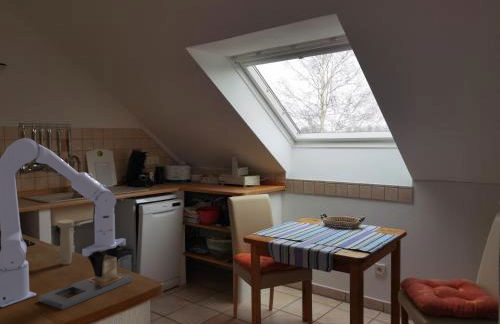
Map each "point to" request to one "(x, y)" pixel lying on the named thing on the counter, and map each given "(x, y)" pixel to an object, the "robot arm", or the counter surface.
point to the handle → (65, 241)
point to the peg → (108, 270)
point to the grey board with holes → (82, 291)
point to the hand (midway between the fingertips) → (105, 273)
